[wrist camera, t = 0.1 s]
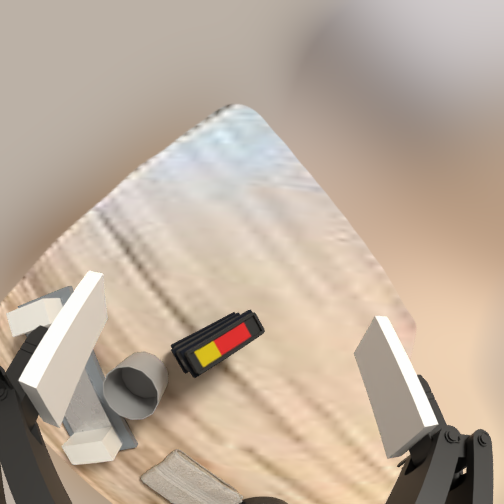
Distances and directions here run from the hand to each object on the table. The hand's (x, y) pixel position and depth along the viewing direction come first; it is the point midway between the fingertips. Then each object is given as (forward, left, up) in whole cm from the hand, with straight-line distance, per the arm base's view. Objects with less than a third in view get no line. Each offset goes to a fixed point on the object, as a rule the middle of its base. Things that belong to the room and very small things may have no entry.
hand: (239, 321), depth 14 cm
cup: (-8, +17, -36) cm, 41 cm away
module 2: (-17, +31, -34) cm, 49 cm away
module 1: (+7, +31, -34) cm, 46 cm away
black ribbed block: (-5, +3, -36) cm, 37 cm away
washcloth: (-34, +19, -37) cm, 53 cm away
